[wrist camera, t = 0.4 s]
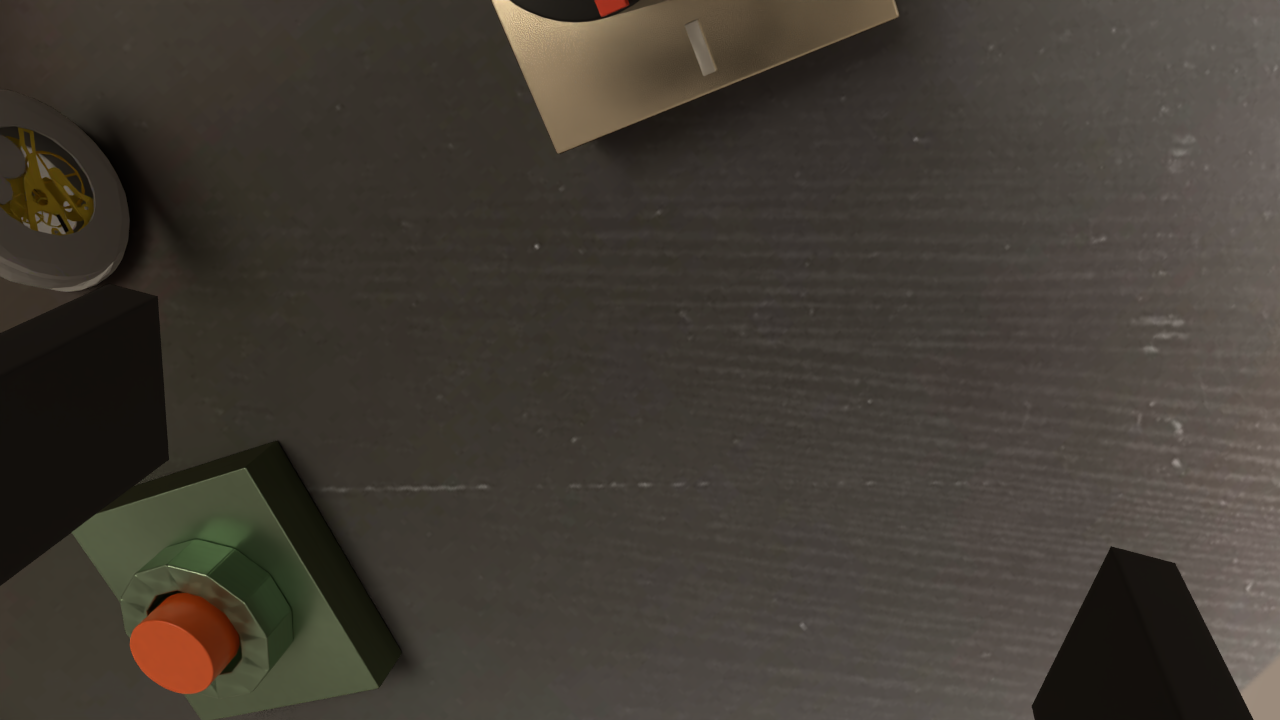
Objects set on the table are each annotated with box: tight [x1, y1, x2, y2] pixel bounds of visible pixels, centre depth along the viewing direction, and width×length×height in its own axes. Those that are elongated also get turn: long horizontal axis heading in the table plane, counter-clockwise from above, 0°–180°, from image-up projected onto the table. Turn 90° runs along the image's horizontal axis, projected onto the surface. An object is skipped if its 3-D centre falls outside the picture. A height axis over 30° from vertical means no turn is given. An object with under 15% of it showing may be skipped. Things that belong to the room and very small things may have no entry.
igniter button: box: [130, 593, 240, 694], centre depth 36 cm, size 4×4×2 cm
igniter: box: [72, 441, 402, 720], centre depth 39 cm, size 11×10×4 cm
